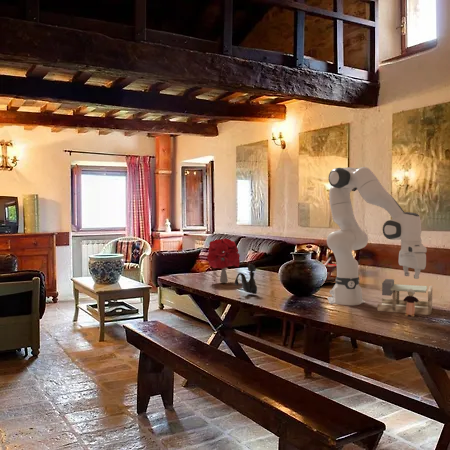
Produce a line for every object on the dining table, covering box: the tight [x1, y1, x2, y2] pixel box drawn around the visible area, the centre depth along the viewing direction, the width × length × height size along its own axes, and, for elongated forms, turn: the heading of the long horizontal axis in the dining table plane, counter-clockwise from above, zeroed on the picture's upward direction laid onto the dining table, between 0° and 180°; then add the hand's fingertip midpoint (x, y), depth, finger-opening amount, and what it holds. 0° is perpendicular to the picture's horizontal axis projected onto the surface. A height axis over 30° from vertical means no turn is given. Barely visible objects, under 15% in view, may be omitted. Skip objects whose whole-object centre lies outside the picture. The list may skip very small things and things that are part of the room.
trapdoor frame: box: [377, 285, 433, 316], centre depth 240 cm, size 24×18×11 cm
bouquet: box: [206, 237, 241, 284], centre depth 333 cm, size 22×24×30 cm
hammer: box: [381, 278, 428, 296], centre depth 240 cm, size 20×14×6 cm
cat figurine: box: [234, 262, 258, 295], centre depth 287 cm, size 10×14×18 cm
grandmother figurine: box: [402, 289, 420, 317], centre depth 226 cm, size 8×4×13 cm, turn 70°
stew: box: [323, 256, 337, 284], centre depth 328 cm, size 28×24×16 cm
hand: (411, 277), depth 225 cm, fingers open, 8 cm apart
